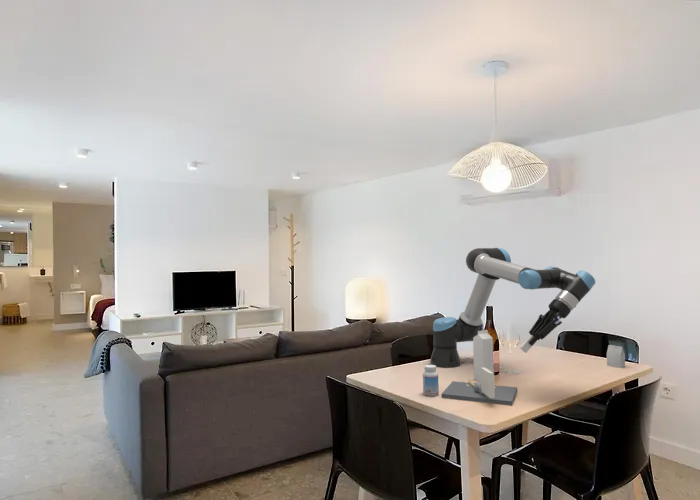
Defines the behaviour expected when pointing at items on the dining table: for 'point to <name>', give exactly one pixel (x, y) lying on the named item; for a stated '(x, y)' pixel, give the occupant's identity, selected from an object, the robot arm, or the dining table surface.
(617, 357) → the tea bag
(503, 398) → the dark grey flat slab
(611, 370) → the dining table surface
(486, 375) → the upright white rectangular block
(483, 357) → the milk
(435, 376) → the pill bottle
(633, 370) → the dining table surface
